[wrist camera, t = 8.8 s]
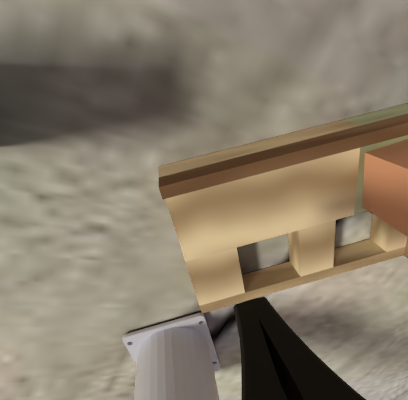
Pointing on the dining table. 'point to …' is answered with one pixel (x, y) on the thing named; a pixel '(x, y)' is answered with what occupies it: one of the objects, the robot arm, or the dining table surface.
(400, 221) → the block
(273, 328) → the robot arm
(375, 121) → the trap board
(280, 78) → the dining table surface
